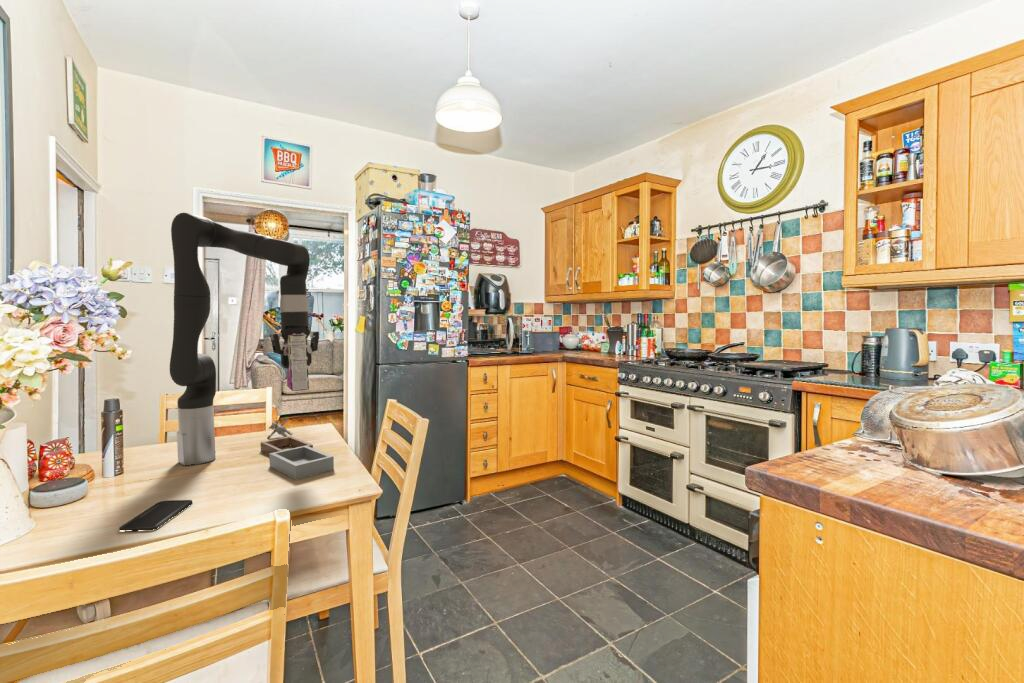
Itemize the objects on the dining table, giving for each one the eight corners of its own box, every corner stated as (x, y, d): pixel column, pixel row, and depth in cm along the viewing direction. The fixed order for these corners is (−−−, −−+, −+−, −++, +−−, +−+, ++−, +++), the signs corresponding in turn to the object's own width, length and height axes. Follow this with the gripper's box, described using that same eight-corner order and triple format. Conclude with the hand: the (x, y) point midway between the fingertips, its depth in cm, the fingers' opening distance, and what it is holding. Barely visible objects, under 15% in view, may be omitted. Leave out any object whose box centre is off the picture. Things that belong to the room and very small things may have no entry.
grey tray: (295, 480, 133) (295, 465, 133) (269, 466, 144) (269, 453, 144) (333, 469, 141) (333, 456, 141) (306, 457, 153) (305, 445, 152)
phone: (194, 499, 118) (155, 527, 103) (194, 504, 118) (155, 532, 103) (159, 500, 117) (115, 529, 102) (160, 505, 117) (116, 534, 102)
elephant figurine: (275, 443, 170) (259, 431, 173) (282, 451, 175) (266, 439, 178) (297, 421, 175) (281, 411, 179) (303, 430, 180) (287, 419, 183)
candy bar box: (285, 386, 148) (284, 333, 146) (303, 385, 150) (301, 332, 149) (290, 391, 138) (288, 334, 137) (309, 390, 141) (307, 334, 140)
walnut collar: (281, 461, 149) (281, 451, 149) (260, 451, 160) (260, 442, 160) (313, 453, 157) (312, 444, 157) (291, 444, 167) (290, 436, 167)
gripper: (311, 310, 150) (313, 363, 151) (263, 310, 139) (266, 368, 140) (323, 310, 145) (325, 365, 146) (275, 310, 134) (277, 370, 136)
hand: (296, 366), depth 143 cm, fingers closed on candy bar box, 6 cm apart
